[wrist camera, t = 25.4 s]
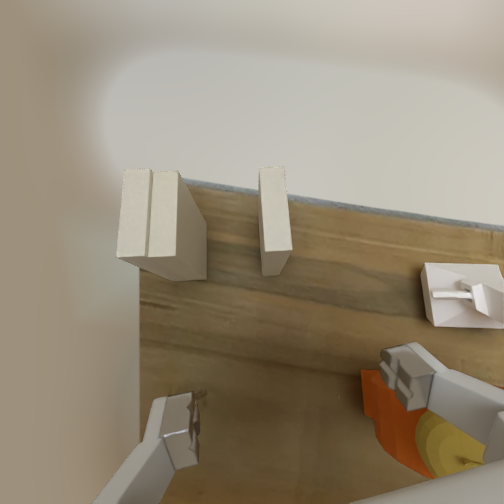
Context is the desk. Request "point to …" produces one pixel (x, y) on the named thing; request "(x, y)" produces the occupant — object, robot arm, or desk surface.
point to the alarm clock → (417, 433)
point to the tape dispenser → (463, 295)
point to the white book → (273, 221)
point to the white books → (162, 226)
